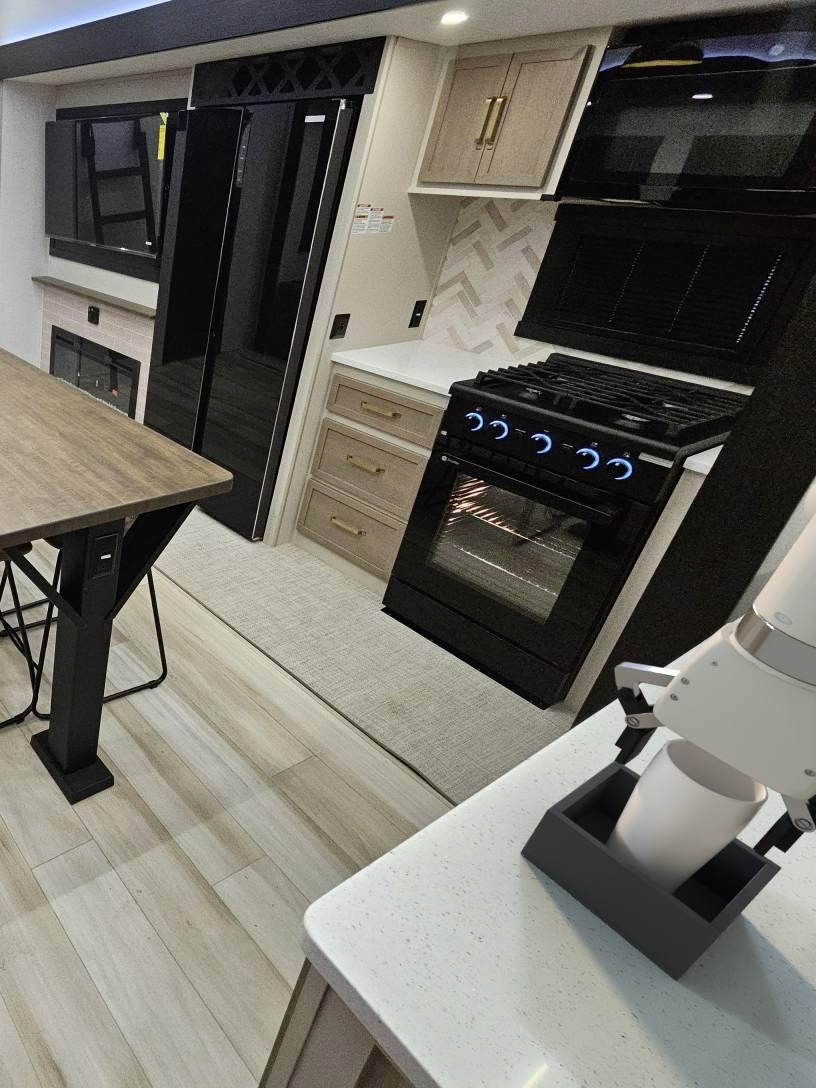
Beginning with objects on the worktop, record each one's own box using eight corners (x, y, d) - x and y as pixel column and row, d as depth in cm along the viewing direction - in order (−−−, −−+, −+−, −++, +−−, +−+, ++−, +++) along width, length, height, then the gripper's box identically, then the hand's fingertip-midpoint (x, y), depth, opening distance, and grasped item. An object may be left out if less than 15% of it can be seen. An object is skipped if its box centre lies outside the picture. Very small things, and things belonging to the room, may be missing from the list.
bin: (587, 802, 72) (615, 759, 69) (740, 911, 62) (782, 867, 59) (519, 853, 66) (547, 809, 63) (676, 981, 57) (718, 937, 54)
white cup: (593, 830, 68) (667, 724, 61) (681, 879, 64) (771, 771, 57) (580, 876, 64) (657, 767, 57) (673, 931, 60) (770, 821, 53)
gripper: (1007, 710, 45) (847, 867, 54) (688, 572, 59) (600, 714, 67) (975, 752, 42) (811, 911, 50) (645, 596, 55) (558, 742, 64)
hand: (690, 799), depth 59 cm, fingers open, 9 cm apart
